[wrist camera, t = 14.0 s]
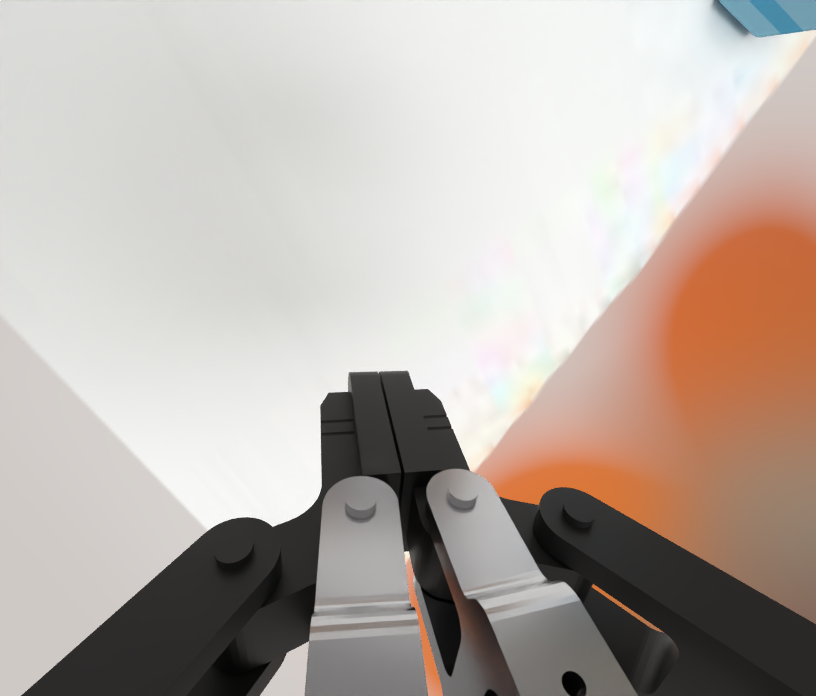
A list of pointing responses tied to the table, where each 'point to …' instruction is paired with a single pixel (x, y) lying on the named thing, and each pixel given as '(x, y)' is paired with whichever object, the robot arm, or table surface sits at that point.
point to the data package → (773, 15)
